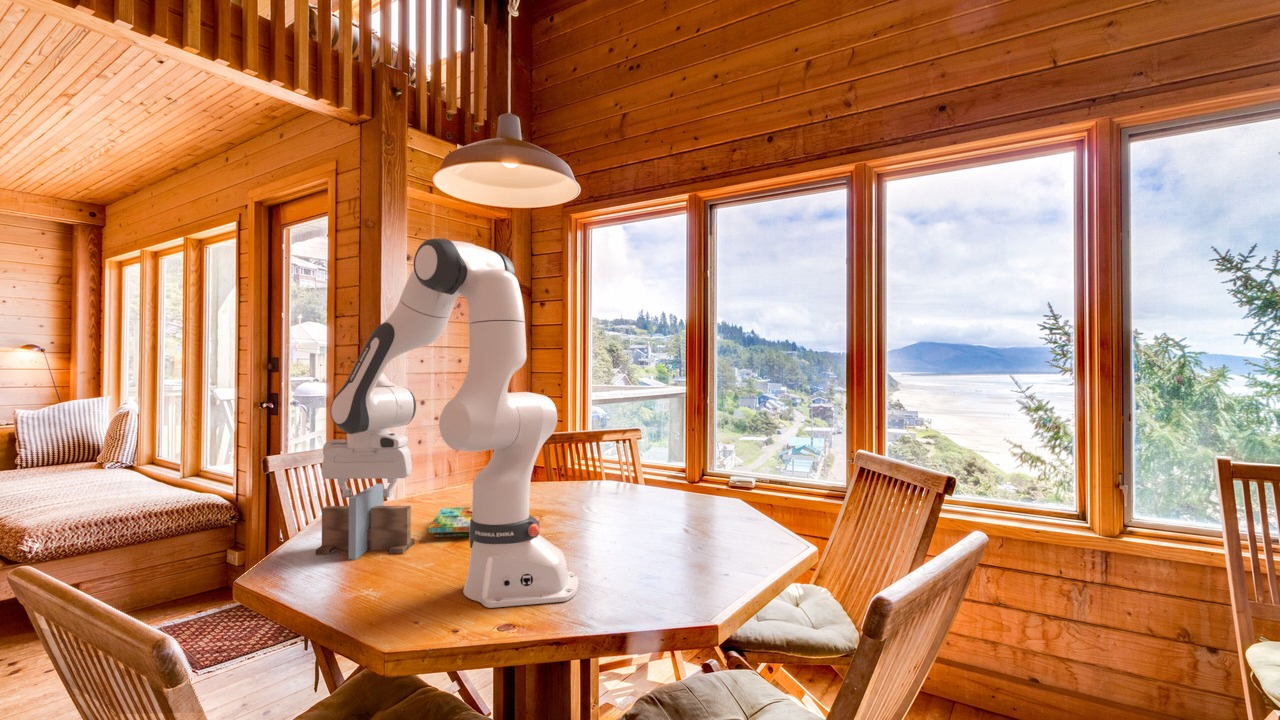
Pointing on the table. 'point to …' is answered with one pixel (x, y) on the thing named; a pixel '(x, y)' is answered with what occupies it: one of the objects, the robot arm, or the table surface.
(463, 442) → the robot arm
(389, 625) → the table surface
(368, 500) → the grey notched slab
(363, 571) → the table surface
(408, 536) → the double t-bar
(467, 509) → the puzzle game
